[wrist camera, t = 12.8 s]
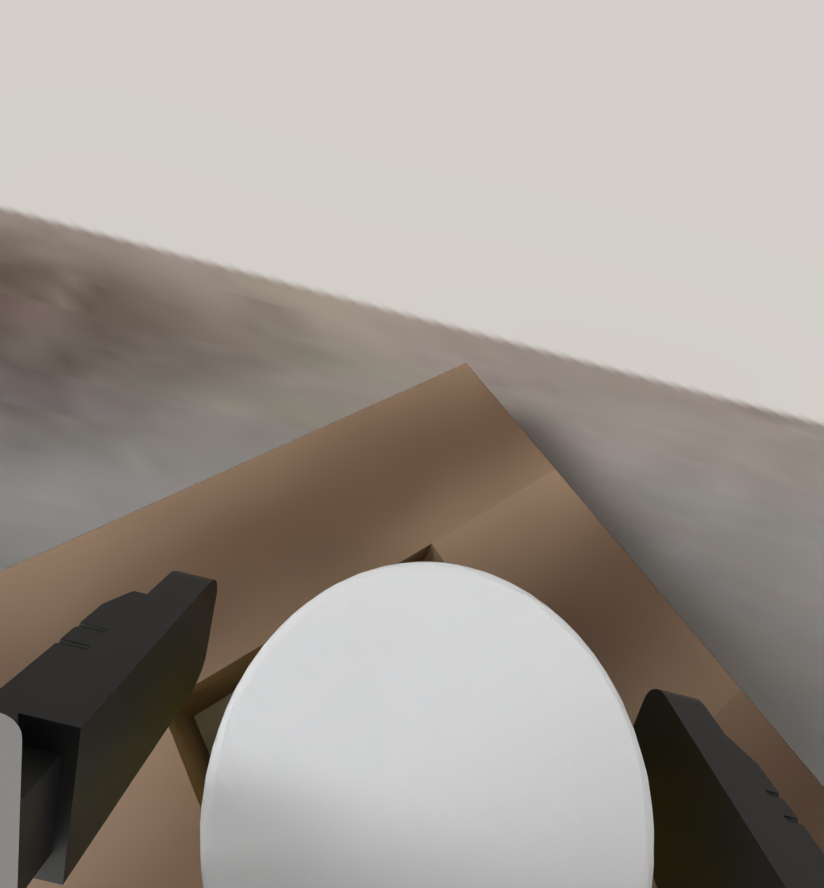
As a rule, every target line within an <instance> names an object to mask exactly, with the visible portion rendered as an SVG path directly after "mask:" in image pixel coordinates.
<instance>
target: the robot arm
mask: <svg viewBox="0 0 824 888" xmlns="http://www.w3.org/2000/svg"><path fill="white" fill-rule="evenodd" d="M216 596H217V582H216V580H213V579H209V578H205V577H201V576H197V575H192V574H188V573H184V572H180V571H176V570H175V571H172V572H171V573H169V574H168V575H167V576H166V577H165V578H164V579H163V580H162V581H161V582H159V583H158V584H157V585H156V586H155V587H154V588H153V589H152V590H151V591H150V592H149V593H148V594H145V593H140V592H136V591H132V592H129V593H127V594H124V595H122V596H120V597H117V598H115V599H112V600H110V601H108V602H105V603H103V604H102V605H100V606H99V607H98V608H97V609H96V610H94V611H93V612H92V613H91V614H90V615H88V616H87V617H86V618H85V619H84V620H82V621H81V622H80V624H79V626H78V627H77V626H75V627H74V628H73V629H71V630H70V631H69V632H68V633H67V634H65V635H64V636H63V637H62V638H61V639H60V642H59V643H55V644H53V645H52V646H51V647H50V648H49V649H47V650H46V651H45V652H44V653H42V654H41V655H40V656H39V657H38V658H36V659H35V660H34V661H33V662H32V663H30V664H29V665H28V666H27V667H26V668H24V669H23V670H22V671H21V672H20V673H18V674H17V675H16V676H15V677H14V678H12V679H11V680H10V681H9V682H8V683H6V684H5V685H4V686H3V687H1V688H0V888H27V886H28V885H29V883H30V882H31V881H32V879H33V878H35V879H39V880H43V881H48V882H52V883H56V884H60V885H63V884H64V882H65V881H66V880H67V878H68V877H69V875H70V874H71V872H72V871H73V869H74V868H75V866H76V865H77V863H78V862H79V860H80V859H81V857H82V856H83V854H84V853H85V851H86V850H87V848H88V847H89V845H90V844H91V842H92V841H93V839H94V838H95V836H96V835H97V833H98V832H99V830H100V829H101V827H102V826H103V824H104V823H105V821H106V820H107V818H108V817H109V815H110V814H111V812H112V811H113V809H114V808H115V806H116V805H117V803H118V802H119V800H120V799H121V797H122V796H123V794H124V793H125V791H126V790H127V788H128V787H129V785H130V784H131V782H132V781H133V779H134V778H135V776H136V775H137V773H138V772H139V770H140V769H141V767H142V766H143V764H144V763H145V761H146V760H147V758H148V757H149V755H150V754H151V752H152V751H153V749H154V748H155V746H156V745H157V743H158V742H159V740H160V739H161V737H162V736H163V734H164V733H165V731H166V730H167V728H168V727H169V725H170V724H171V722H172V721H173V719H174V718H175V716H176V715H177V713H178V712H179V710H180V709H181V707H182V706H183V704H184V703H185V701H186V700H187V698H188V697H189V695H190V694H191V692H192V691H193V689H194V687H195V685H196V683H197V681H198V678H199V676H200V673H201V671H202V668H203V665H204V661H205V658H206V653H207V647H208V642H209V636H210V630H211V624H212V619H213V613H214V607H215V601H216ZM633 728H634V731H635V734H636V737H637V741H638V744H639V747H640V750H641V753H642V757H643V760H644V764H645V768H646V772H647V776H648V782H649V789H650V795H651V802H652V810H653V823H654V869H653V878H654V881H655V883H656V886H657V888H824V853H823V852H822V850H821V849H820V848H819V846H818V845H817V843H816V842H815V841H814V839H813V838H812V837H811V835H810V834H809V833H808V831H807V830H806V829H805V827H804V826H803V825H800V824H798V818H797V816H796V815H795V814H794V812H793V811H792V810H791V808H790V807H789V806H788V804H787V803H786V802H785V800H784V799H781V798H779V792H778V791H777V790H776V788H775V787H774V785H773V784H772V783H771V781H770V780H769V779H768V777H767V776H766V775H765V773H764V772H763V771H762V769H761V768H760V767H759V765H758V764H757V763H756V762H755V761H754V760H753V759H752V758H751V757H749V756H748V755H747V754H746V753H745V752H744V751H743V750H742V749H741V748H740V747H739V746H738V745H736V744H735V743H734V742H733V741H732V740H731V739H730V738H729V737H727V736H726V735H725V733H724V732H723V730H722V729H721V728H720V726H719V725H718V723H717V722H716V721H715V719H714V718H713V716H712V715H711V714H710V712H709V711H708V709H707V708H706V707H705V705H704V704H703V703H702V702H701V701H700V700H698V699H696V698H692V697H688V696H684V695H680V694H676V693H672V692H668V691H664V690H659V689H652V690H650V691H649V692H648V693H647V695H646V696H645V698H644V700H643V703H642V705H641V708H640V710H639V713H638V715H637V718H636V720H635V723H634V725H633Z"/></svg>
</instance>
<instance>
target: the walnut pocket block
mask: <svg viewBox="0 0 824 888" xmlns="http://www.w3.org/2000/svg"><path fill="white" fill-rule="evenodd" d="M410 562H443V563H450V564H457V565H461V566H465V567H470V568H473V569H477V570H480V571H484V572H487V573H490V574H492V575H495V576H497V577H499V578H501V579H504V580H506V581H508V582H510V583H512V584H514V585H516V586H517V587H519V588H521V589H523V590H524V591H526V592H528V593H530V594H531V595H533V596H534V597H535V598H537V599H538V600H539V601H541V602H542V603H544V604H545V605H547V606H548V607H549V608H550V609H551V610H553V611H554V612H555V613H556V614H557V615H558V616H560V617H561V618H562V619H563V620H564V621H565V622H566V623H567V624H568V625H569V626H570V627H571V628H572V629H573V630H574V631H575V632H576V633H577V634H578V635H579V636H580V638H581V639H582V640H583V641H584V642H585V644H586V645H587V646H588V647H589V649H590V650H591V651H592V652H593V653H594V655H595V656H596V658H597V659H598V661H599V662H600V664H601V665H602V667H603V668H604V670H605V671H606V673H607V674H608V676H609V678H610V679H611V681H612V683H613V685H614V686H615V688H616V690H617V692H618V694H619V696H620V698H621V699H622V701H623V704H624V706H625V709H626V711H627V714H628V716H629V719H630V721H631V724H632V726H633V725H634V723H635V720H636V718H637V715H638V713H639V710H640V708H641V705H642V703H643V700H644V698H645V696H646V695H647V693H648V692H649V691H650V690H652V689H659V690H664V691H668V692H672V693H676V694H680V695H684V696H688V697H692V698H696V699H698V700H700V701H701V702H702V703H703V704H704V705H705V707H706V708H707V709H708V711H709V712H710V714H711V715H712V716H713V718H714V719H715V721H716V722H717V723H718V725H719V726H720V728H721V729H722V730H723V732H724V733H725V735H726V736H727V737H729V738H730V739H731V740H732V741H733V742H734V743H735V744H736V745H738V746H739V747H740V748H741V749H742V750H743V751H744V752H745V753H746V754H747V755H748V756H749V757H751V758H752V759H753V760H754V761H755V762H756V763H757V764H758V765H759V767H760V768H761V769H762V771H763V772H764V773H765V775H766V776H767V777H768V779H769V780H770V781H771V783H772V784H773V785H774V787H775V788H776V790H777V791H778V792H779V798H781V799H784V800H785V802H786V803H787V804H788V806H789V807H790V808H791V810H792V811H793V812H794V814H795V815H796V816H797V818H798V824H800V825H803V826H804V827H805V829H806V830H807V831H808V833H809V834H810V835H811V837H812V838H813V839H814V841H815V842H816V843H817V845H818V846H819V848H820V849H821V850H822V852H823V853H824V787H823V786H822V785H821V783H820V782H819V781H818V780H817V779H816V778H815V776H814V775H813V774H812V773H811V772H810V770H809V769H808V768H807V767H806V766H805V764H804V763H803V762H802V761H801V760H800V759H799V757H798V756H797V755H796V754H795V753H794V751H793V750H792V749H791V748H790V747H789V746H788V744H787V743H786V742H785V741H784V740H783V738H782V737H781V736H780V735H779V734H778V732H777V731H776V730H775V729H774V728H773V727H772V725H771V724H770V723H769V722H768V721H767V719H766V718H765V717H764V716H763V715H762V713H761V712H760V711H759V710H758V709H757V708H756V706H755V705H754V704H753V703H752V702H751V700H750V699H749V698H748V697H747V696H746V694H745V693H744V692H743V691H742V690H741V689H740V687H739V686H738V685H737V684H736V683H735V681H734V680H733V679H732V678H731V677H730V676H729V674H728V673H727V672H726V671H725V670H724V668H723V667H722V666H721V665H720V664H719V662H718V661H717V660H716V659H715V658H714V657H713V655H712V654H711V653H710V652H709V651H708V649H707V648H706V647H705V646H704V645H703V643H702V642H701V641H700V640H699V639H698V638H697V636H696V635H695V634H694V633H693V632H692V630H691V629H690V628H689V627H688V626H687V624H686V623H685V622H684V621H683V620H682V619H681V617H680V616H679V615H678V614H677V613H676V611H675V610H674V609H673V608H672V607H671V606H670V604H669V603H668V602H667V601H666V600H665V598H664V597H663V596H662V595H661V594H660V592H659V591H658V590H657V589H656V588H655V587H654V585H653V584H652V583H651V582H650V581H649V579H648V578H647V577H646V576H645V575H644V573H643V572H642V571H641V570H640V569H639V568H638V566H637V565H636V564H635V563H634V562H633V560H632V559H631V558H630V557H629V556H628V554H627V553H626V552H625V551H624V550H623V549H622V547H621V546H620V545H619V544H618V543H617V541H616V540H615V539H614V538H613V537H612V536H611V534H610V533H609V532H608V531H607V530H606V528H605V527H604V526H603V525H602V524H601V522H600V521H599V520H598V519H597V518H596V517H595V515H594V514H593V513H592V512H591V511H590V509H589V508H588V507H587V506H586V505H585V503H584V502H583V501H582V500H581V499H580V498H579V496H578V495H577V494H576V493H575V492H574V490H573V489H572V488H571V487H570V486H569V484H568V483H567V482H566V481H565V480H564V479H563V477H562V476H561V475H560V474H559V473H558V471H557V470H556V469H555V468H554V467H553V465H552V464H551V463H550V462H549V461H548V460H547V458H546V457H545V456H544V455H543V454H542V452H541V451H540V450H539V449H538V448H537V447H536V445H535V444H534V443H533V442H532V441H531V439H530V438H529V437H528V436H527V435H526V433H525V432H524V431H523V430H522V429H521V428H520V426H519V425H518V424H517V423H516V422H515V420H514V419H513V418H512V417H511V416H510V414H509V413H508V412H507V411H506V410H505V409H504V407H503V406H502V405H501V404H500V403H499V401H498V400H497V399H496V398H495V397H494V395H493V394H492V393H491V392H490V391H489V390H488V388H487V387H486V386H485V385H484V384H483V382H482V381H481V380H480V379H479V378H478V377H477V375H476V374H475V373H474V372H473V371H472V369H471V368H470V367H469V366H468V365H467V363H466V364H463V365H461V366H459V367H457V368H454V369H452V370H450V371H448V372H446V373H443V374H441V375H439V376H437V377H434V378H432V379H430V380H428V381H425V382H423V383H421V384H419V385H416V386H414V387H412V388H410V389H408V390H405V391H403V392H401V393H399V394H396V395H394V396H392V397H390V398H387V399H385V400H383V401H381V402H378V403H376V404H374V405H372V406H370V407H367V408H365V409H363V410H361V411H358V412H356V413H354V414H352V415H349V416H347V417H345V418H343V419H340V420H338V421H336V422H334V423H332V424H329V425H327V426H325V427H323V428H320V429H318V430H316V431H314V432H311V433H309V434H307V435H305V436H302V437H300V438H298V439H296V440H294V441H291V442H289V443H287V444H285V445H282V446H280V447H278V448H276V449H273V450H271V451H269V452H267V453H264V454H262V455H260V456H258V457H256V458H253V459H251V460H249V461H247V462H244V463H242V464H240V465H238V466H235V467H233V468H231V469H229V470H226V471H224V472H222V473H220V474H218V475H215V476H213V477H211V478H209V479H206V480H204V481H202V482H200V483H197V484H195V485H193V486H191V487H188V488H186V489H184V490H182V491H180V492H177V493H175V494H173V495H171V496H168V497H166V498H164V499H162V500H159V501H157V502H155V503H153V504H150V505H148V506H146V507H144V508H142V509H139V510H137V511H135V512H133V513H130V514H128V515H126V516H124V517H121V518H119V519H117V520H115V521H112V522H110V523H108V524H106V525H104V526H101V527H99V528H97V529H95V530H92V531H90V532H88V533H86V534H83V535H81V536H79V537H77V538H74V539H72V540H70V541H68V542H66V543H63V544H61V545H59V546H57V547H54V548H52V549H50V550H48V551H45V552H43V553H41V554H39V555H37V556H34V557H32V558H30V559H28V560H25V561H23V562H21V563H19V564H16V565H14V566H12V567H10V568H7V569H5V570H3V571H1V572H0V688H1V687H3V686H4V685H5V684H6V683H8V682H9V681H10V680H11V679H12V678H14V677H15V676H16V675H17V674H18V673H20V672H21V671H22V670H23V669H24V668H26V667H27V666H28V665H29V664H30V663H32V662H33V661H34V660H35V659H36V658H38V657H39V656H40V655H41V654H42V653H44V652H45V651H46V650H47V649H49V648H50V647H51V646H52V645H53V644H55V643H59V642H60V639H61V638H62V637H63V636H64V635H65V634H67V633H68V632H69V631H70V630H71V629H73V628H74V627H75V626H77V627H78V626H79V624H80V622H81V621H82V620H84V619H85V618H86V617H87V616H88V615H90V614H91V613H92V612H93V611H94V610H96V609H97V608H98V607H99V606H100V605H102V604H103V603H105V602H108V601H110V600H112V599H115V598H117V597H120V596H122V595H124V594H127V593H129V592H132V591H136V592H140V593H145V594H148V593H149V592H150V591H151V590H152V589H153V588H154V587H155V586H156V585H157V584H158V583H159V582H161V581H162V580H163V579H164V578H165V577H166V576H167V575H168V574H169V573H171V572H172V571H175V570H176V571H180V572H184V573H188V574H192V575H197V576H201V577H205V578H209V579H213V580H216V582H217V596H216V601H215V607H214V613H213V619H212V624H211V630H210V636H209V642H208V647H207V653H206V658H205V661H204V665H203V668H202V671H201V673H200V676H199V678H198V681H197V683H196V685H195V687H194V689H193V691H192V692H191V694H190V695H189V697H188V698H187V700H186V701H185V703H184V704H183V706H182V707H181V709H180V710H179V712H178V713H177V715H176V716H175V718H174V719H173V721H172V722H171V724H170V725H169V727H168V728H167V730H166V731H165V733H164V734H163V736H162V737H161V739H160V740H159V742H158V743H157V745H156V746H155V748H154V749H153V751H152V752H151V754H150V755H149V757H148V758H147V760H146V761H145V763H144V764H143V766H142V767H141V769H140V770H139V772H138V773H137V775H136V776H135V778H134V779H133V781H132V782H131V784H130V785H129V787H128V788H127V790H126V791H125V793H124V794H123V796H122V797H121V799H120V800H119V802H118V803H117V805H116V806H115V808H114V809H113V811H112V812H111V814H110V815H109V817H108V818H107V820H106V821H105V823H104V824H103V826H102V827H101V829H100V830H99V832H98V833H97V835H96V836H95V838H94V839H93V841H92V842H91V844H90V845H89V847H88V848H87V850H86V851H85V853H84V854H83V856H82V857H81V859H80V860H79V862H78V863H77V865H76V866H75V868H74V869H73V871H72V872H71V874H70V875H69V877H68V878H67V880H66V881H65V882H64V884H63V885H60V884H56V883H52V882H48V881H43V880H39V879H35V878H33V879H32V881H31V882H30V883H29V885H28V886H27V888H203V881H202V873H201V860H200V818H201V807H202V799H203V792H204V785H205V778H206V773H207V769H208V764H209V760H210V756H211V752H212V748H213V745H214V742H215V739H216V735H217V732H218V729H219V727H220V724H221V721H222V718H223V716H224V713H225V710H226V708H227V706H228V704H229V701H230V699H231V697H232V695H233V692H234V690H235V689H236V687H237V685H238V684H239V682H240V680H241V678H242V677H243V675H244V673H245V671H246V670H247V668H248V666H249V665H250V663H251V662H252V661H253V659H254V658H255V656H256V655H257V654H258V652H259V651H260V650H261V648H262V647H263V645H264V644H265V643H266V642H267V641H268V639H269V638H270V637H271V636H272V635H273V634H274V633H275V632H276V631H277V629H278V628H279V627H280V626H281V625H282V624H283V623H284V622H285V621H286V620H287V619H288V618H289V617H291V616H292V615H293V614H294V613H295V612H296V611H297V610H299V609H300V608H301V607H302V606H304V605H305V604H306V603H308V602H309V601H310V600H312V599H313V598H315V597H316V596H317V595H319V594H320V593H322V592H323V591H325V590H326V589H328V588H330V587H332V586H333V585H335V584H337V583H339V582H341V581H344V580H346V579H348V578H350V577H352V576H355V575H357V574H359V573H362V572H366V571H369V570H373V569H376V568H379V567H383V566H387V565H393V564H399V563H410ZM652 888H657V886H656V883H655V881H654V878H653V879H652Z"/></svg>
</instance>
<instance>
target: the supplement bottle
mask: <svg viewBox="0 0 824 888" xmlns="http://www.w3.org/2000/svg"><path fill="white" fill-rule="evenodd" d="M200 860H201V873H202V881H203V888H652V879H653V869H654V823H653V810H652V802H651V795H650V789H649V782H648V776H647V772H646V768H645V764H644V760H643V757H642V753H641V750H640V747H639V744H638V741H637V737H636V734H635V731H634V728H633V726H632V724H631V721H630V719H629V716H628V714H627V711H626V709H625V706H624V704H623V701H622V699H621V698H620V696H619V694H618V692H617V690H616V688H615V686H614V685H613V683H612V681H611V679H610V678H609V676H608V674H607V673H606V671H605V670H604V668H603V667H602V665H601V664H600V662H599V661H598V659H597V658H596V656H595V655H594V653H593V652H592V651H591V650H590V649H589V647H588V646H587V645H586V644H585V642H584V641H583V640H582V639H581V638H580V636H579V635H578V634H577V633H576V632H575V631H574V630H573V629H572V628H571V627H570V626H569V625H568V624H567V623H566V622H565V621H564V620H563V619H562V618H561V617H560V616H558V615H557V614H556V613H555V612H554V611H553V610H551V609H550V608H549V607H548V606H547V605H545V604H544V603H542V602H541V601H539V600H538V599H537V598H535V597H534V596H533V595H531V594H530V593H528V592H526V591H524V590H523V589H521V588H519V587H517V586H516V585H514V584H512V583H510V582H508V581H506V580H504V579H501V578H499V577H497V576H495V575H492V574H490V573H487V572H484V571H480V570H477V569H473V568H470V567H465V566H461V565H457V564H450V563H443V562H410V563H399V564H393V565H387V566H383V567H379V568H376V569H373V570H369V571H366V572H362V573H359V574H357V575H355V576H352V577H350V578H348V579H346V580H344V581H341V582H339V583H337V584H335V585H333V586H332V587H330V588H328V589H326V590H325V591H323V592H322V593H320V594H319V595H317V596H316V597H315V598H313V599H312V600H310V601H309V602H308V603H306V604H305V605H304V606H302V607H301V608H300V609H299V610H297V611H296V612H295V613H294V614H293V615H292V616H291V617H289V618H288V619H287V620H286V621H285V622H284V623H283V624H282V625H281V626H280V627H279V628H278V629H277V631H276V632H275V633H274V634H273V635H272V636H271V637H270V638H269V639H268V641H267V642H266V643H265V644H264V645H263V647H262V648H261V650H260V651H259V652H258V654H257V655H256V656H255V658H254V659H253V661H252V662H251V663H250V665H249V666H248V668H247V670H246V671H245V673H244V675H243V677H242V678H241V680H240V682H239V684H238V685H237V687H236V689H235V690H234V692H233V695H232V697H231V699H230V701H229V704H228V706H227V708H226V710H225V713H224V716H223V718H222V721H221V724H220V727H219V729H218V732H217V735H216V739H215V742H214V745H213V748H212V752H211V756H210V760H209V764H208V769H207V773H206V778H205V785H204V792H203V799H202V807H201V818H200Z"/></svg>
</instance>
